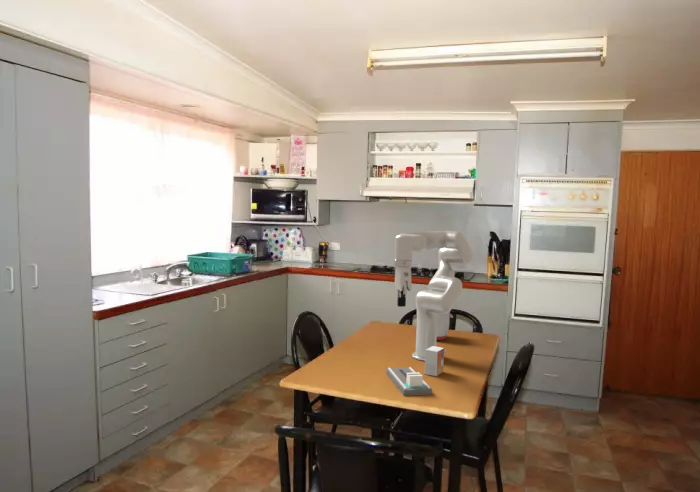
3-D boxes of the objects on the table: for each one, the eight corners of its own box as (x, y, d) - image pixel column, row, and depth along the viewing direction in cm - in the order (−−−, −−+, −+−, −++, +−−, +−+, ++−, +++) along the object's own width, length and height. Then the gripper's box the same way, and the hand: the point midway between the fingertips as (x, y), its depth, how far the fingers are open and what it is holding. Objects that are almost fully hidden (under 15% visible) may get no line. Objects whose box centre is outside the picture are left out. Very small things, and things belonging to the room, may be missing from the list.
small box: (436, 376, 202) (437, 351, 201) (423, 374, 205) (425, 349, 204) (443, 371, 209) (444, 347, 208) (431, 369, 212) (432, 345, 211)
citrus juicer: (454, 342, 258) (456, 305, 256) (422, 341, 258) (423, 303, 257) (449, 335, 273) (450, 299, 272) (418, 334, 274) (419, 298, 272)
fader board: (411, 372, 206) (411, 366, 206) (431, 394, 182) (432, 387, 182) (386, 373, 204) (386, 367, 204) (403, 395, 180) (403, 388, 180)
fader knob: (418, 382, 187) (419, 372, 187) (422, 386, 184) (422, 375, 183) (406, 383, 187) (406, 372, 186) (409, 386, 183) (409, 375, 182)
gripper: (416, 265, 202) (415, 309, 204) (406, 262, 217) (404, 302, 218) (399, 265, 201) (397, 309, 202) (389, 261, 216) (388, 303, 217)
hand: (401, 306), depth 210 cm, fingers closed
